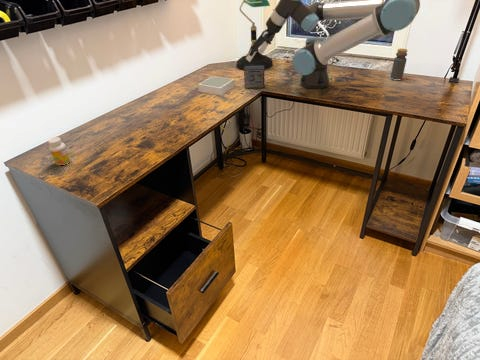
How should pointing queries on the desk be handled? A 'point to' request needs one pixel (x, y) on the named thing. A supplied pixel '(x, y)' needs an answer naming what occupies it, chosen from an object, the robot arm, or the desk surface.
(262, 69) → the small box
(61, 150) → the supplement bottle
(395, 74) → the bottle
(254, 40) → the banker's lamp
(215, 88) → the base
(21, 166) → the desk surface
